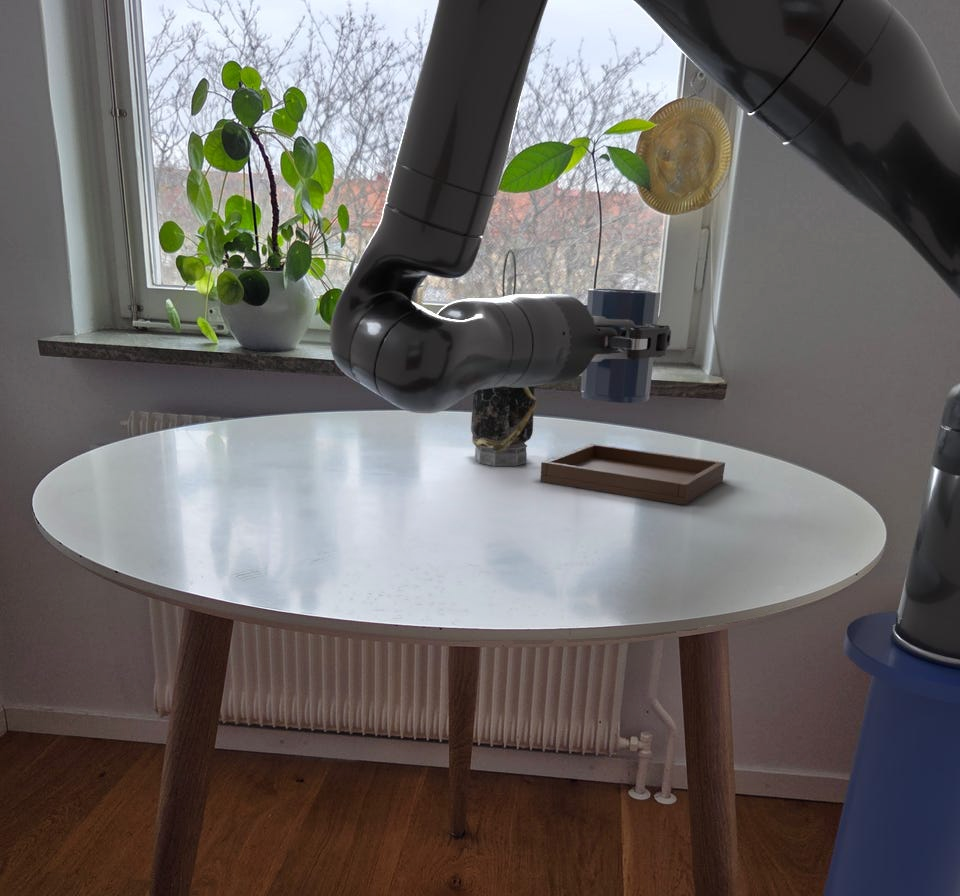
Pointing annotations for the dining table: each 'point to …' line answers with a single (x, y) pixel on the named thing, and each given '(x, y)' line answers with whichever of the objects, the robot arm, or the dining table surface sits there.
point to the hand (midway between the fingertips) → (631, 333)
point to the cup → (617, 375)
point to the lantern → (502, 418)
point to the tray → (634, 473)
